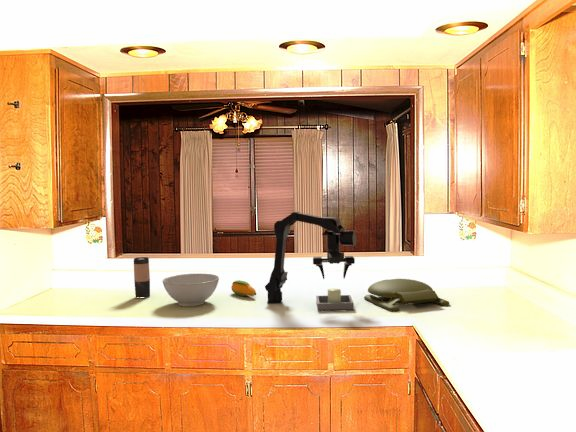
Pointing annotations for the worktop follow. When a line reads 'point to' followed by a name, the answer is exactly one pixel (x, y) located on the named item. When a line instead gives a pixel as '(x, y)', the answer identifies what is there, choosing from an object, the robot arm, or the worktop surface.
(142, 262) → the travel mug
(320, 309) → the serving bin
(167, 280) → the decorative bowl
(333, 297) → the salad tub
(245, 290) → the corn
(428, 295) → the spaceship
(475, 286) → the worktop surface
